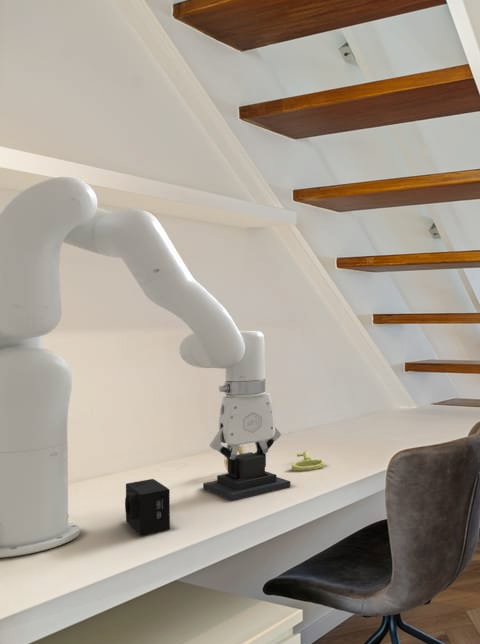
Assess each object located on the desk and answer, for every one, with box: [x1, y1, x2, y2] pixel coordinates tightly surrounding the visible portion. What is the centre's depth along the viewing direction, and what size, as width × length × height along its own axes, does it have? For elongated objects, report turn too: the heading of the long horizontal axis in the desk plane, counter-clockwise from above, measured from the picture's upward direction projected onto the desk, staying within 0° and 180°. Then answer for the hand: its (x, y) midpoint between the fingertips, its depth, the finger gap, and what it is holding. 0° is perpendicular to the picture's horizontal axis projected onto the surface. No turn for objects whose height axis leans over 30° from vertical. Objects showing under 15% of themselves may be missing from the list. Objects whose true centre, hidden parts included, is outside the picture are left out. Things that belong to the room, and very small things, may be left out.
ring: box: [223, 443, 246, 472], centre depth 138 cm, size 7×3×8 cm, turn 173°
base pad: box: [202, 470, 291, 502], centre depth 125 cm, size 12×14×3 cm
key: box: [291, 450, 325, 472], centre depth 144 cm, size 7×12×2 cm, turn 43°
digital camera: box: [124, 478, 171, 537], centre depth 102 cm, size 10×5×7 cm, turn 46°
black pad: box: [229, 451, 266, 480], centre depth 125 cm, size 5×6×4 cm
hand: (247, 473), depth 125 cm, fingers closed on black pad, 4 cm apart
